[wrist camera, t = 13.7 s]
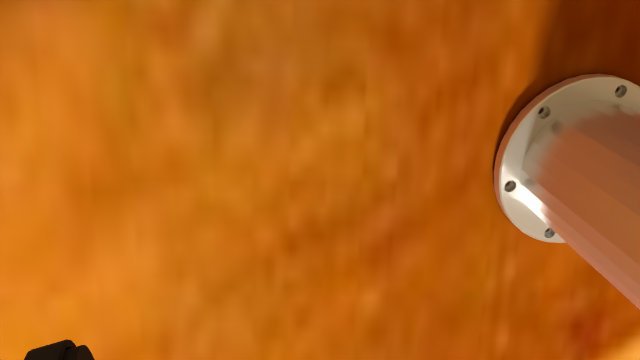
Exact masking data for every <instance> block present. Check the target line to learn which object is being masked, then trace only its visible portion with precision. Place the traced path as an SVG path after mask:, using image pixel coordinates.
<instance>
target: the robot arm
mask: <svg viewBox="0 0 640 360" xmlns="http://www.w3.org/2000/svg"><path fill="white" fill-rule="evenodd" d="M494 189H495V193H496V197H497V201H498V203H499V205H500V207H501V209H502V210H503V212H504V214H505V215H506V216H507V217H508V218H509V220H510V221H511V222H512V223H513V224H514V225H515V226H516V227H518V228H519V229H520V230H521V231H522V232H523V233H525V234H527V235H529V236H531V237H533V238H535V239H538V240H541V241H545V242H555V243H565V242H566V243H567V244H568V245H569V246H571V247H572V248H573V249H574V250H575V251H576V252H577V253H578V254H579V255H580V256H582V257H583V258H584V259H585V260H586V261H587V262H588V263H589V264H590V265H591V266H593V267H594V268H595V269H596V270H597V271H598V272H599V273H600V274H601V275H602V276H604V277H605V278H606V279H607V280H608V281H609V282H610V283H611V284H612V285H613V286H615V287H616V288H617V289H618V290H619V291H620V292H621V293H622V294H623V295H624V296H626V297H627V298H628V299H629V300H630V301H631V302H632V303H633V304H634V305H635V306H637V307H638V308H639V309H640V86H638V85H636V84H634V83H632V82H630V81H628V80H625V79H623V78H620V77H617V76H614V75H607V74H586V75H580V76H577V77H573V78H569V79H566V80H564V81H562V82H560V83H558V84H556V85H553V86H551V87H549V88H548V89H547V90H545V91H544V92H542V93H541V94H539V95H538V96H536V97H535V98H534V99H533V100H532V101H531V102H530V103H529V104H528V105H527V106H526V107H524V108H523V109H522V110H521V112H520V113H519V114H518V115H517V117H516V118H515V119H514V121H513V122H512V123H511V125H510V126H509V128H508V130H507V132H506V134H505V135H504V137H503V139H502V141H501V144H500V147H499V150H498V153H497V156H496V160H495V167H494ZM24 360H94V358H93V356H92V354H91V352H90V350H89V349H88V347H87V346H85V345H81V346H78V347H76V345H75V344H74V343H73V342H72V341H71V340H64V341H60V342H57V343H53V344H50V345H46V346H43V347H40V348H36V349H33V350H31V351H29V352H28V353H27V355H26V356H25V359H24Z"/></svg>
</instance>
